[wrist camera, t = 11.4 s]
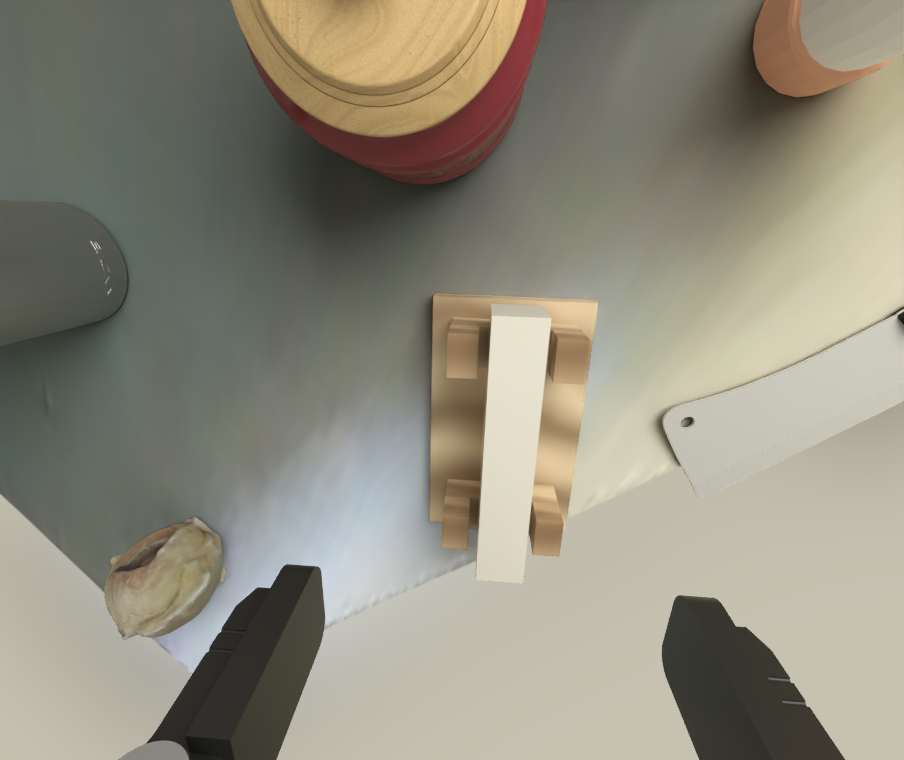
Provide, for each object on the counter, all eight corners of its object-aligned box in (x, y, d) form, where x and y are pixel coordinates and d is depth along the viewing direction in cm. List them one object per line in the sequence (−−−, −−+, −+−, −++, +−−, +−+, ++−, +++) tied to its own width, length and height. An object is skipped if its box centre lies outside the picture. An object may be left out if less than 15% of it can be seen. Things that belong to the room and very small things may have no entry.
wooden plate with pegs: (562, 519, 40) (576, 573, 34) (431, 510, 40) (421, 562, 34) (593, 299, 33) (618, 317, 27) (435, 293, 34) (424, 309, 28)
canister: (403, 224, 32) (318, 225, 16) (288, 51, 29) (27, -177, 12) (560, 107, 29) (663, -47, 12) (450, -101, 26) (392, -682, 9)
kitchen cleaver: (704, 506, 38) (658, 424, 34) (694, 492, 39) (649, 413, 36) (1136, 307, 30) (1135, 176, 27) (1102, 301, 32) (1097, 176, 28)
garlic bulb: (247, 524, 46) (232, 603, 37) (207, 584, 47) (183, 674, 38) (150, 493, 41) (106, 572, 33) (109, 559, 43) (57, 653, 34)
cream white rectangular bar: (518, 546, 36) (522, 583, 33) (476, 543, 36) (475, 580, 33) (542, 305, 29) (551, 318, 26) (490, 303, 30) (491, 315, 26)
